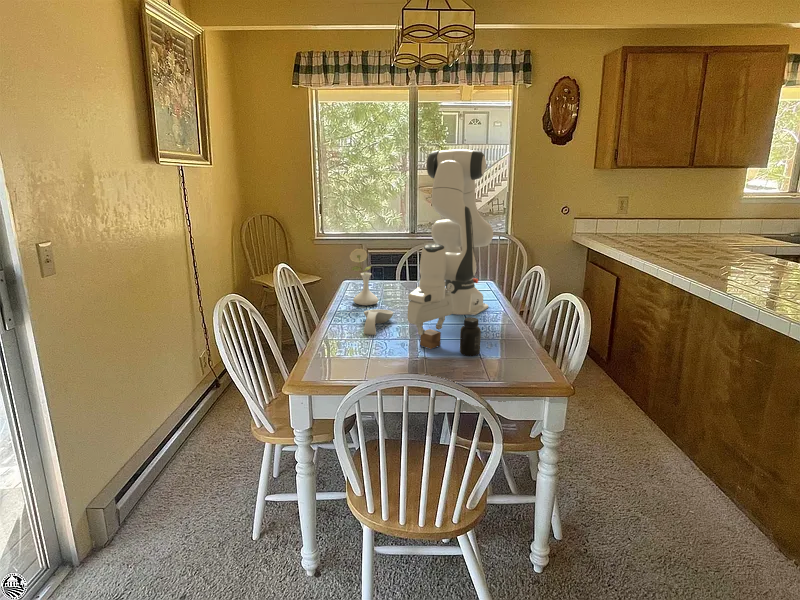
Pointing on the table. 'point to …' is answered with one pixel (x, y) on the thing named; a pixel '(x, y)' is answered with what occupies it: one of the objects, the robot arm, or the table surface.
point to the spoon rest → (375, 319)
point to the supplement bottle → (470, 337)
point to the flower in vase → (365, 295)
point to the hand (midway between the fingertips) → (430, 331)
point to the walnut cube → (430, 339)
